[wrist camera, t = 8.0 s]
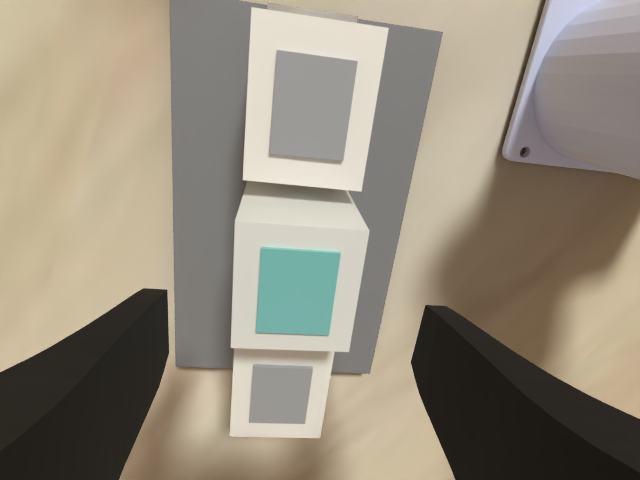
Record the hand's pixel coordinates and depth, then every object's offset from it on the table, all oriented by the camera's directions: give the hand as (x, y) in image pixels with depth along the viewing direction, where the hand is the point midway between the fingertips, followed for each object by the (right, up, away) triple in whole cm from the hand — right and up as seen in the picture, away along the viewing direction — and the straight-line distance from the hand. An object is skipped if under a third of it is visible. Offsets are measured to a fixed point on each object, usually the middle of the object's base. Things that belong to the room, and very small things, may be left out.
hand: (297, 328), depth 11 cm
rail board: (-1, +4, +9) cm, 10 cm away
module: (-1, +3, +7) cm, 8 cm away
